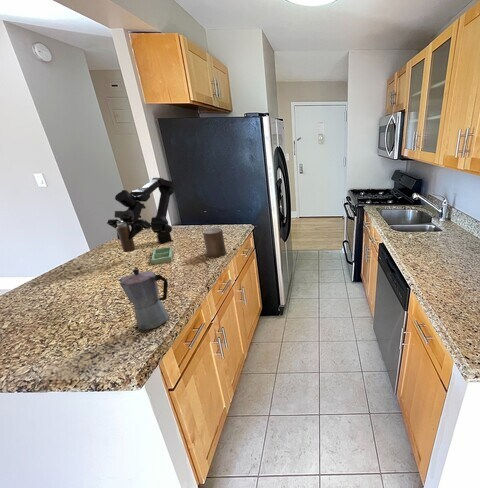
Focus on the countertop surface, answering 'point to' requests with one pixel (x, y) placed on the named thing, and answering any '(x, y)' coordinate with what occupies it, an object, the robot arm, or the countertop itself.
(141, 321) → the moka pot
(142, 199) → the robot arm
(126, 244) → the pepper mill
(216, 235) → the pillar candle
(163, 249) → the caddy
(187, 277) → the countertop surface
